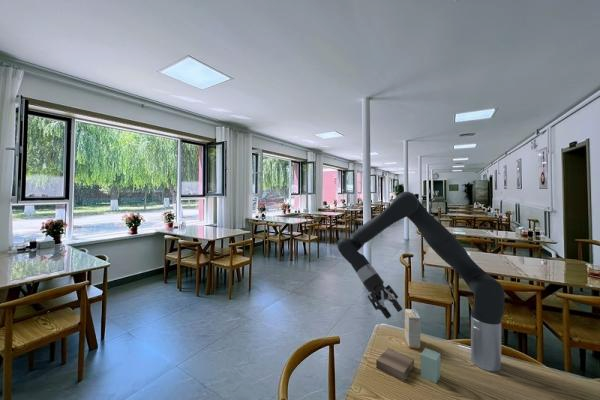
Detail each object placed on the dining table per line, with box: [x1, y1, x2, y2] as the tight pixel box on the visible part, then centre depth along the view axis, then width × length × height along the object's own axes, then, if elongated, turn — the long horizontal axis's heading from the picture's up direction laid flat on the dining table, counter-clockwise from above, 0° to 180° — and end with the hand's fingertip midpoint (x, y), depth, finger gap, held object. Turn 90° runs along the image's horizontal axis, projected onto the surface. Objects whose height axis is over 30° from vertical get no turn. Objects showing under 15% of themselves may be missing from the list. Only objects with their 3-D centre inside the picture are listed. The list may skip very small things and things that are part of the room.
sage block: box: [420, 347, 442, 384], centre depth 90 cm, size 5×5×8 cm
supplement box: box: [404, 308, 421, 350], centre depth 110 cm, size 8×5×13 cm, turn 168°
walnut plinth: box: [375, 347, 415, 382], centre depth 95 cm, size 10×10×3 cm
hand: (395, 314), depth 99 cm, fingers open, 8 cm apart
